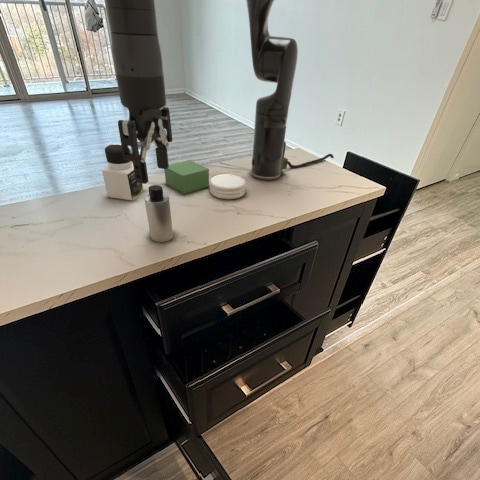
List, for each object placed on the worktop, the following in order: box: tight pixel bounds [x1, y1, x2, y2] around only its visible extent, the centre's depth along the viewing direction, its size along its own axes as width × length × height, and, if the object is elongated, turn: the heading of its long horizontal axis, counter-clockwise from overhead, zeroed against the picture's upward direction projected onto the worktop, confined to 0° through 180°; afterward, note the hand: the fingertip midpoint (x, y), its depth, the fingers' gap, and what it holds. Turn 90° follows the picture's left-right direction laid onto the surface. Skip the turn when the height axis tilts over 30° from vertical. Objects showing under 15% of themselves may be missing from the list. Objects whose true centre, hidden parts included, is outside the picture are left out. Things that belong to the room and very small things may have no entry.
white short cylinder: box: [209, 173, 247, 200], centre depth 90 cm, size 10×10×4 cm
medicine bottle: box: [101, 143, 144, 201], centre depth 83 cm, size 7×7×12 cm
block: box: [163, 159, 210, 195], centre depth 91 cm, size 9×9×5 cm
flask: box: [143, 184, 174, 243], centre depth 68 cm, size 5×5×11 cm
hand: (153, 175), depth 62 cm, fingers open, 8 cm apart
